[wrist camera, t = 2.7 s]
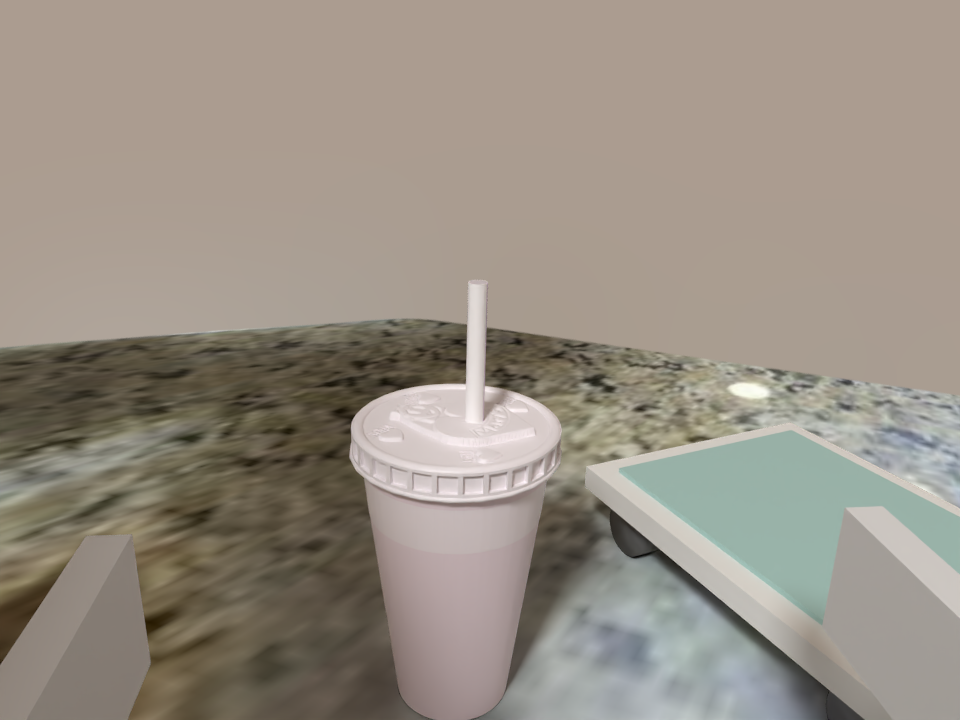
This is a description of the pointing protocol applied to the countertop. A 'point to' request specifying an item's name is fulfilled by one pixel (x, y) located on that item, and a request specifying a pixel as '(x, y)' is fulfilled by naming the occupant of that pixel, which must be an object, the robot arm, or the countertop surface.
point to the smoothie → (455, 524)
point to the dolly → (768, 532)
